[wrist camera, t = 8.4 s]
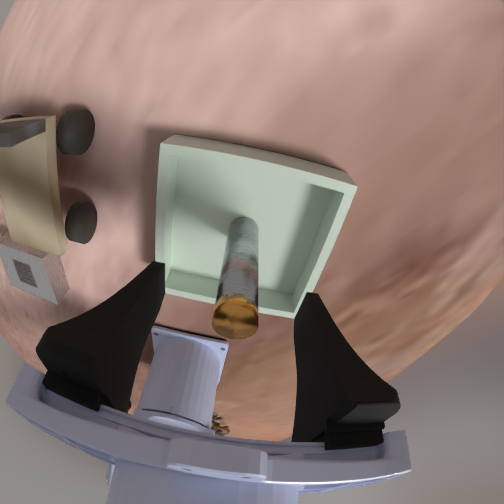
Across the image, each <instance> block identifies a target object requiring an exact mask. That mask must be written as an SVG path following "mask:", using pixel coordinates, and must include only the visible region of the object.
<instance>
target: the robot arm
mask: <svg viewBox="0 0 504 504" xmlns="http://www.w3.org/2000/svg"><path fill="white" fill-rule="evenodd" d="M164 295H165V263H161V262H157V261H153V262H152V263H151V264H149V265H148V266H147V267H146V268H145V269H144V270H143V271H142V272H141V273H140V274H138V275H137V276H136V277H135V278H134V279H133V280H132V281H130V282H129V283H128V284H127V285H126V286H124V287H123V288H122V289H121V290H119V291H118V292H117V293H115V294H114V295H113V296H111V297H110V298H109V299H107V300H106V301H104V302H102V303H101V304H99V305H98V306H96V307H94V308H93V309H91V310H89V311H87V312H85V313H83V314H81V315H79V316H77V317H75V318H72V319H70V320H68V321H65V322H62V323H59V324H56V325H54V326H50V327H48V329H47V330H46V331H45V333H44V335H43V336H42V338H41V340H40V342H39V343H38V345H37V347H36V353H37V355H38V357H39V358H40V360H41V361H42V363H43V364H44V366H45V367H46V369H47V370H48V371H47V373H46V375H45V374H43V373H42V372H41V371H39V370H37V369H35V368H34V367H32V366H30V365H28V364H26V363H23V365H22V367H21V369H20V371H19V373H18V375H17V377H16V379H15V381H14V383H13V385H12V387H11V389H10V392H9V394H8V396H7V398H6V403H7V404H8V405H9V406H10V407H11V408H12V409H14V410H15V411H16V412H17V413H18V414H20V415H21V416H22V417H23V418H25V419H26V420H27V421H28V422H30V423H31V424H33V425H35V426H36V427H38V428H40V429H41V430H43V431H45V432H46V433H48V434H50V435H52V436H54V437H55V438H57V439H59V440H61V441H63V442H65V443H67V444H69V445H70V446H73V447H74V448H76V449H78V450H81V451H83V452H85V453H87V454H89V455H91V456H94V457H96V458H98V459H101V460H103V461H105V462H108V469H107V475H106V479H107V480H108V485H109V487H110V488H109V493H108V498H107V503H106V504H298V493H311V492H321V491H330V490H337V489H344V488H351V487H356V486H362V485H367V484H372V483H376V482H381V481H385V480H388V479H390V478H393V477H396V476H399V475H402V474H404V473H407V472H409V471H411V470H412V468H411V460H410V454H409V448H408V442H407V437H406V432H405V430H400V431H393V432H387V433H384V434H383V433H382V429H384V428H385V424H384V421H386V420H387V419H388V418H390V417H391V416H393V415H394V414H395V413H397V412H398V410H399V409H400V401H399V397H398V393H397V391H396V390H395V389H394V388H393V387H391V386H390V385H389V384H388V383H386V382H385V381H384V380H382V379H381V378H380V377H379V376H378V375H377V374H376V373H375V372H373V371H372V370H371V369H370V368H369V367H368V366H367V365H366V364H365V362H364V361H363V360H362V359H361V358H360V357H359V356H358V355H357V354H356V352H355V351H354V350H353V349H352V347H351V346H350V345H349V343H348V342H347V341H346V339H345V338H344V336H343V335H342V333H341V332H340V330H339V329H338V327H337V326H336V324H335V323H334V321H333V319H332V318H331V316H330V314H329V312H328V311H327V309H326V307H325V305H324V303H323V302H322V300H321V298H320V296H319V295H318V294H316V293H311V292H307V293H306V295H305V297H304V299H303V301H302V303H301V305H300V308H299V310H298V312H297V314H296V316H295V318H294V345H295V356H296V367H297V396H296V410H295V419H294V427H293V434H292V441H291V442H278V441H263V440H252V439H242V438H234V437H227V436H220V435H215V430H212V429H211V422H212V415H213V408H214V401H215V395H216V388H217V384H218V383H219V381H220V377H221V373H222V369H223V365H224V362H225V358H226V354H227V350H228V346H229V343H228V342H226V341H222V340H217V339H212V338H207V337H203V336H198V335H193V334H189V333H184V332H180V331H176V330H172V329H168V328H164V327H160V326H153V324H154V322H155V320H156V317H157V315H158V313H159V311H160V308H161V305H162V301H163V298H164ZM150 331H151V332H152V341H153V349H154V356H153V359H152V362H151V366H150V369H149V372H148V375H147V378H146V381H145V384H144V388H143V391H142V394H141V398H140V401H139V404H138V408H135V411H134V414H133V415H131V414H128V408H129V402H130V397H131V392H132V388H133V383H134V379H135V375H136V371H137V367H138V364H139V360H140V357H141V353H142V350H143V347H144V345H145V342H146V340H147V338H148V335H149V333H150Z"/></svg>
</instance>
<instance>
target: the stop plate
mask: <svg viewBox="0 0 504 504" xmlns="http://www.w3.org/2000/svg"><path fill="white" fill-rule="evenodd" d="M0 257H1V259H2V262H3V265H4V267H5V270H6V273H7V275H8V278H9V280H10V282H11V285H13V286H15V287H17V288H19V289H22V290H24V291H26V292H28V293H31V294H33V295H35V296H38V297H40V298H43V299H45V300H47V301H50V302H52V303H55V304H58V305H59V303H60V302H61V300H62V299H63V297H64V296H65V294H66V293H67V291H68V290H69V286H68V283H67V279H66V276H65V272H64V269H63V265H62V261H61V257H60V256H59V255H56V254H53V253H49V252H46V251H43V250H40V249H37V248H33V247H30V246H27V245H24V244H21V243H18V242H15V241H12V240H11V237H10V234H9V230H8V231H7V232H6V233H5V234H3V235H2V236H1V237H0Z"/></svg>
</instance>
